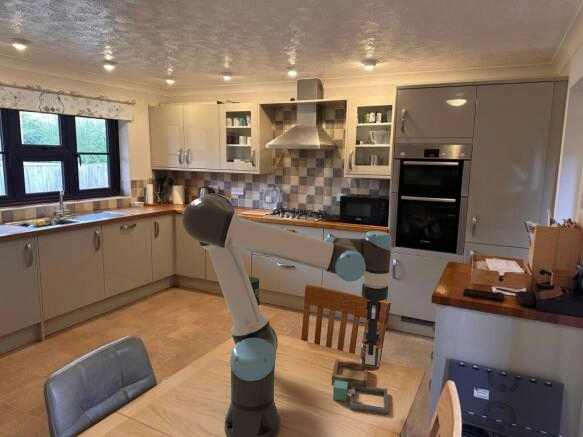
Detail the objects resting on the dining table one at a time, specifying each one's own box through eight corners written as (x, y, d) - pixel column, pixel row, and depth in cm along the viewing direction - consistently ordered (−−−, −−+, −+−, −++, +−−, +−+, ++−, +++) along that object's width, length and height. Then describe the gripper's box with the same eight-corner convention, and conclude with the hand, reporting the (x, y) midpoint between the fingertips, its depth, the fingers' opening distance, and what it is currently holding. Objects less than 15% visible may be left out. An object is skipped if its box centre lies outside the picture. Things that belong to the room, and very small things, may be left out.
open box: (331, 384, 135) (331, 376, 134) (335, 367, 146) (335, 359, 145) (366, 389, 133) (367, 380, 132) (367, 371, 144) (368, 363, 143)
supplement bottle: (358, 369, 123) (360, 333, 121) (361, 360, 128) (363, 325, 126) (378, 373, 121) (380, 337, 119) (381, 364, 126) (383, 329, 124)
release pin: (333, 399, 127) (333, 387, 126) (334, 391, 130) (334, 380, 130) (354, 402, 125) (355, 390, 125) (355, 394, 129) (355, 383, 128)
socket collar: (349, 409, 122) (349, 404, 122) (352, 388, 133) (352, 384, 132) (387, 414, 120) (387, 409, 120) (387, 393, 130) (387, 389, 130)
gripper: (363, 274, 130) (359, 342, 134) (360, 293, 112) (355, 372, 116) (387, 276, 129) (382, 345, 132) (389, 296, 110) (382, 376, 114)
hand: (370, 358), depth 124 cm, fingers closed on supplement bottle, 6 cm apart
